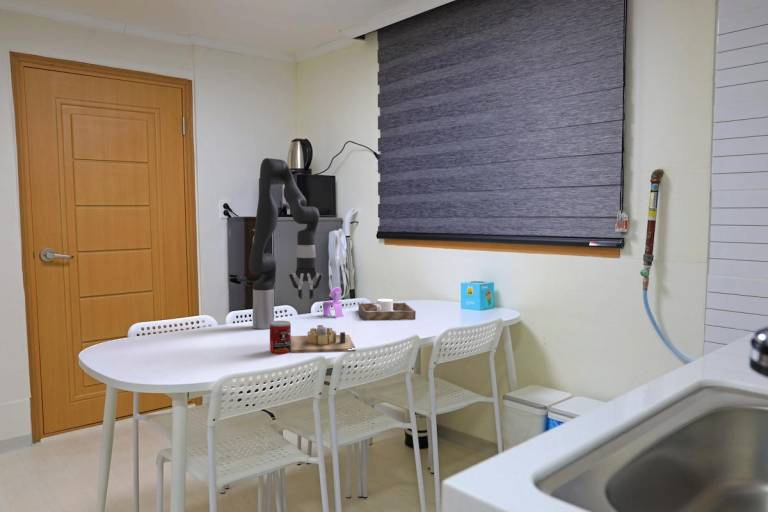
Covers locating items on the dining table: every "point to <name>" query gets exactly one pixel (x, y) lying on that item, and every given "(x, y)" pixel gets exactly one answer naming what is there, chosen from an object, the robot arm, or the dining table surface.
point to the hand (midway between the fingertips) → (305, 298)
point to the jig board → (303, 346)
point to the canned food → (280, 337)
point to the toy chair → (334, 303)
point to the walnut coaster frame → (386, 312)
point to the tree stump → (384, 305)
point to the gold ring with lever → (321, 336)
